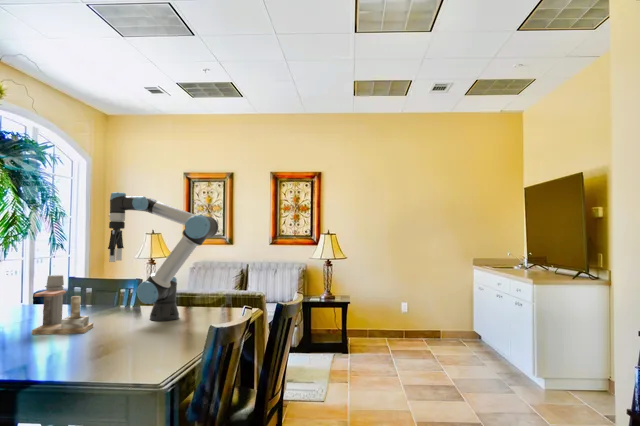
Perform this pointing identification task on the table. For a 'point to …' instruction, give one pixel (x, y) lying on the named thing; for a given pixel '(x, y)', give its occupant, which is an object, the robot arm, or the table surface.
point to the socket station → (67, 323)
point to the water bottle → (55, 298)
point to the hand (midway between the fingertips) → (115, 261)
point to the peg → (75, 307)
